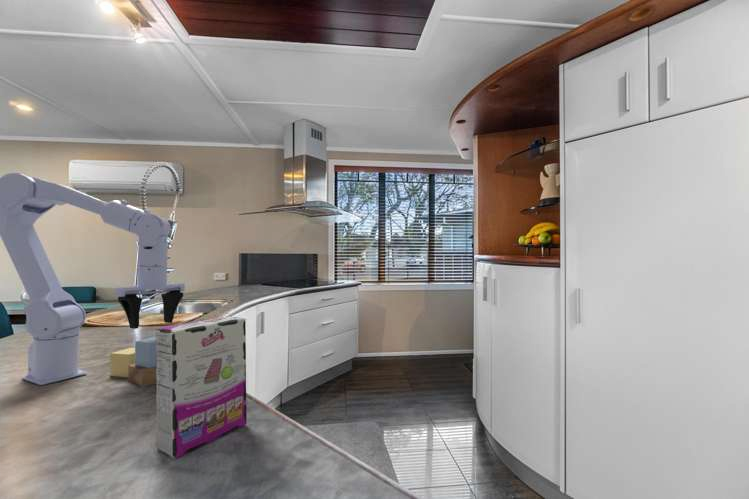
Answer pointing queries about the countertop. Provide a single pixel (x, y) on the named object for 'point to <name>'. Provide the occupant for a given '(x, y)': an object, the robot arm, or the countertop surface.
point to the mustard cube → (122, 362)
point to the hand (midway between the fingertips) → (151, 325)
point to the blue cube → (145, 353)
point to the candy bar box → (199, 383)
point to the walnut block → (142, 375)
